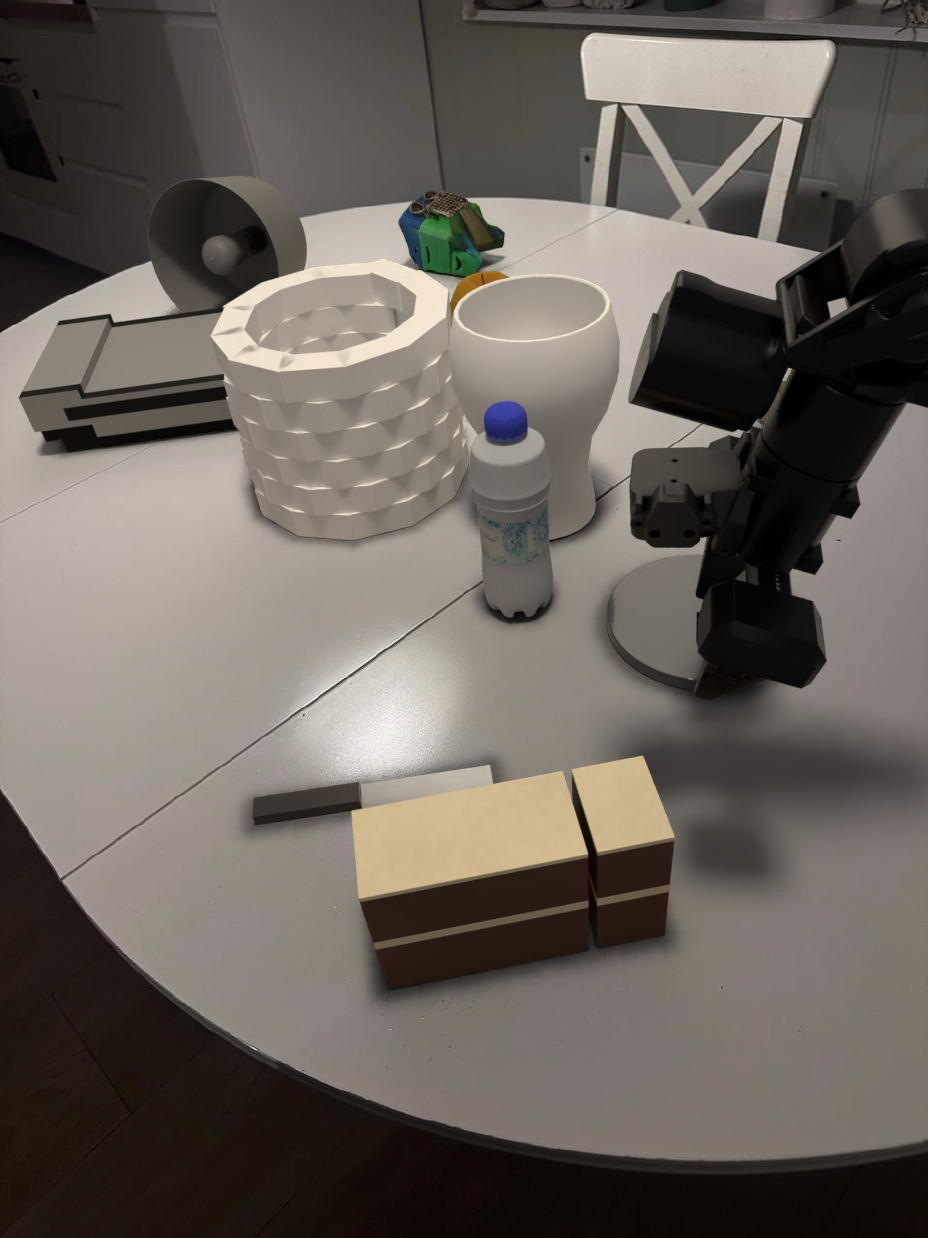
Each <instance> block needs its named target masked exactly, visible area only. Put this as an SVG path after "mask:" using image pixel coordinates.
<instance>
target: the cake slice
mask: <svg viewBox="0 0 928 1238" xmlns="http://www.w3.org/2000/svg"><path fill="white" fill-rule="evenodd" d="M570 771H571V799H572V803H573V806H574V809H575V812H576V816H577V819H578V822H579V825H580V829H581V832H582V835H583V839H584V842H585V845H586V848H587V852H588V923H589V925H590V929H591V932H592V936H593V940H594V943H595V946H596V949H600V948H606V947H611V946H616V945H620V944H625V943H630V942H634V941H641V940H645V939H651V938H655V937H661V936H664V935H666V926H667V916H668V909H669V908H668V907H669V906H668V905H669V896H670V890H671V889H670V888H671V877H672V867H673V858H674V849H675V841H676V836H675V833H674V830H673V828H672V826H671V825H672V824H671V822H670V820H669V818H668V815H667V812H666V810H665V808H664V805H663V802H662V800H661V797H660V795H659V792H658V790H657V786H656V785H655V782H654V779H653V777H652V774H651V772H650V770H649V767H648V764H647V762H646V759H645V757H644V755H639V756H633V757H629V758H624V759H623V758H622V759H618V760H612V761H607V762H603V763H597V764H592V765H586V766H581V767H576V768H571V770H570Z"/></svg>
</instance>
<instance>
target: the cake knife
mask: <svg viewBox="0 0 928 1238" xmlns="http://www.w3.org/2000/svg"><path fill="white" fill-rule="evenodd" d="M491 766H492V765H491V764H485V765H478V766H473V767H466V768H465V767H464V768H459V769H452V770H446V771H439V772H432V773H426V774H419V775H413V776H405V777H399V778H393V779H386V780H378V781H372V782H366V783H360V782H359V781H354V782H348V783H342V784H334V785H328V786H321V787H316V788H315V787H314V788H309V789H302V790H296V791H295V790H294V791H289V792H282V793H275V794H274V793H273V794H267V795H262V796H255V797H253V799H252V815H251V818H252V820H253V822H254V824H255V825H262V824H269V823H275V822H282V821H288V820H295V819H302V818H309V817H316V816H322V815H329V814H335V813H343V812H350V811H354V810H359V809H364V808H369V807H375V806H380V805H385V804H391V803H396V802H401V801H406V800H412V799H417V798H422V797H427V796H433V795H438V794H443V793H448V792H454V791H459V790H464V789H469V788H475V787H480V786H485V785H491V784H495V783H494V778H493V772H492V767H491Z"/></svg>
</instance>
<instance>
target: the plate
mask: <svg viewBox="0 0 928 1238" xmlns="http://www.w3.org/2000/svg"><path fill="white" fill-rule="evenodd" d="M702 558H703V554H684V555H683V554H682V555H675V556H674V555H673V556H669V557H665V558H661V559H657V560H653V561H651V562H649V563H646V564H643V565H641V566H639V567H638V568H636V569H634V570H633V571H632V572H630V573H628V574H627V575H626V576H625V577H624V578H622V580H620V582H619V583H617V585H616V586H615V588H614V589H613V591H612V593H611V594H610V596H609V599H608V602H607V606H606V607H607V608H606V629H607V633H608V637H609V639H610V641H611V644H612V646H613V648H614V649H615V650H616V651H617V653H618V654H619V656H621V658H622V659H623V660H624V661H625V662H626V663H627V664H629V666H631V667H632V668H633V669H635V670H636V671H638V672H640V673H641V674H643V675H644V676H646V677H648V678H649V679H652V680H655V681H657V682H660V683H662V684H665V685H669V686H672V687H675V688H680V689H685V690H691V691H694V690H695V686H696V682H697V679H698V675H699V672H700V669H701V666H702V663H703V660H704V658H703V657H702V656H701V655H700V654H699V653H698V652H697V650H698V647H697V644H696V615H697V612H700V610H701V606H702V603H703V599H699V598H697V597H696V587H697V582H698V577H699V573H700V568H701V563H702ZM736 579H737V580H740V581H744V582H746V576H745V570H744V571H743V572H742V573H741V574H740V575H739V576H738V577H737V578H736ZM758 682H759V681H757V682H755V683H752V684H751V685H753V684H756V683H758Z"/></svg>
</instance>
